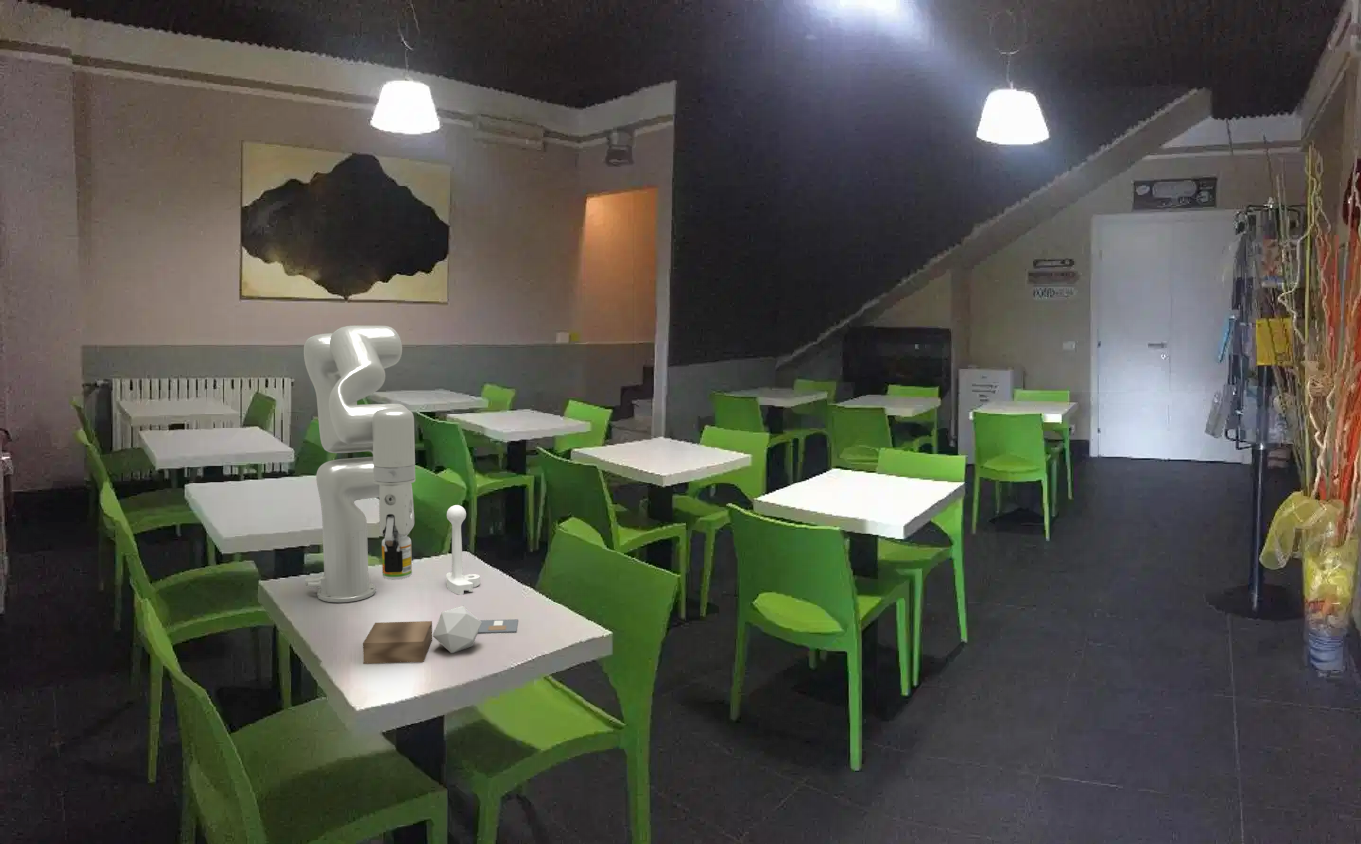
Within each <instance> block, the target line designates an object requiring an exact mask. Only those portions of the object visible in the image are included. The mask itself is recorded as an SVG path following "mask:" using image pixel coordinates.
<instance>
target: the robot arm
mask: <svg viewBox="0 0 1361 844" xmlns="http://www.w3.org/2000/svg"><path fill="white" fill-rule="evenodd" d="M402 353H403V344H402V340H401V337H400V335H399V333H398V332H397V330H395V328H393V327H391V326H388V325H347V326H341V327H340V328H338V329H336V330H335V331H333V333H332V332H331V333H329V332H327V333H320V334H315V335H312V336H311V337H308V338H307V339H306V341H305V343H304V345H303V358H304V364H305V368H306V371H307V374H308V376H309V379H310V381H311V383H312V385H313V387H314V391H315V395H316V404H317V405H316V406H317V416H318V417H317V418H318V428H319V429H318V430H319V439H320V443H321V446H322V448H323V450H324V451H326V452H327V453H331V454H345V453H347V454H348V453H361V452H369V453H371V454H372V456H367V457H364V456H363V457H352V458H339V459H338V458H337V459H333V460H329V461H325V462H324V463H322V464H321V465H320V466H319V467H318V469H317V471H316V476H315V477H316V480H315V481H316V486H317V491H318V497H319V500H320V501H319V502H320V507H321V520H322V521H321V523H322V545H323V546H322V547H323V548H322V551H323V573H324V574H323V575H320V576H319V577H315V576H310V577H309V576H307V577H306V578H305V579H304V580H305V582H304V583H305V586H308V587H307V588H309V589H311V588H318V589H319V590H318V591H317V598H318V599H319V600H320V601H324V602H329V603H351V602H357V601H362V600H365V599H368V598H370V597H372V596H373V595H375V594H376V591H377V589H376V588H377V587H376V585H375V584H373V583H371V582H369V557H368V556H369V553H368V551H369V550H368V549H369V548H368V547H369V545H368V522H367V518H366V517H367V516H366V515H365V512H364V511H362V510H361V508H359V507H358V506H357V505H356V503H355V502H356V501H361V500H365V499H369V500H370V499H376V498H379V500H378V501H379V502H378V503H379V504H378V506H379V508H378V512H379V513H378V514H379V517H378V518H379V532H380V535H381V536H382V537H384V538H385V551H384V560H385V572H402V570H403V556H402V551H401V535H403V536H408V535H409V534H410V533H411V531H412V529H413V528H414V526H415V512H414V511H415V510H414V509H415V508H414V507H415V506H414V495H413V494H414V493H413V484H412V483H415V482H416V453H415V452H416V450H415V449H416V448H415V446H416V444H415V417H414V413H413V412H412V411H411V410H410V409H408V408H407V407H406V406H405V405H403V404H400V403H372V404H371V403H370V404H358V401H360V400H363V399H365V398H367V397H369V396H371V395H373V394H374V393H376V392H378V391H379V390H380V389H381V388H382V387H383V385H384V383H385V380H386V371H385V369H387V368H388V369H389V368H390V367H393V366H395V365H397V364H398V363H399V362H400V359H401V358H402V356H403V355H402ZM394 532H398V535H393V534H394ZM394 538H397V542H396V540H394Z"/></svg>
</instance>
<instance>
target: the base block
mask: <svg viewBox="0 0 1361 844" xmlns="http://www.w3.org/2000/svg"><path fill="white" fill-rule="evenodd" d="M366 635H367V636H366V637H365V639H364V640H363V643H362V660H363V661H362V662H363V665H365V664H366V665H369V664H372V665H373V664H395V663H396V664H397V663H398V664H399V663H424V662H425V659H426V658H427V655H428V652H429V649H430V647H431V645H432V642H433V621H432V620H429V621H428V620H423V621H388V622H387V621H386V622H385V621H384V622H374V623H373V625H372V627H371V629H370V630H369V632H368V634H366Z"/></svg>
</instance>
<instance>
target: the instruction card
mask: <svg viewBox="0 0 1361 844" xmlns="http://www.w3.org/2000/svg"><path fill="white" fill-rule="evenodd" d="M479 620H480V621H481V622H482V623H481V625H480V628H479V631H478V633H477V635H478V634H500V633H501V634H507V633H508V634H509V633H511V634H512V633H514V634H515V633H517V631H518V624H519V619H518V618H517V619H511V618H510V619H484V620H483V619H479Z"/></svg>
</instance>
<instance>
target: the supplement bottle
mask: <svg viewBox="0 0 1361 844" xmlns="http://www.w3.org/2000/svg"><path fill="white" fill-rule="evenodd" d="M393 535H398V532H394V534H393ZM394 540H396V542H397V538H394ZM384 551H385V537H384V538H383V539H382V540H381V558H382V559H381V563H382V565H381V567H382V578H384V579H386V580H389V581H398V580H404V579H407V578H410V577H412V575H413V564H412V563H413V561H412V559H413V558H412V556H413V555H412V539H411V538H410V536H408V535H407V536H403V535H401V551H402V556H403V570H402V572H385V560H384Z"/></svg>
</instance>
